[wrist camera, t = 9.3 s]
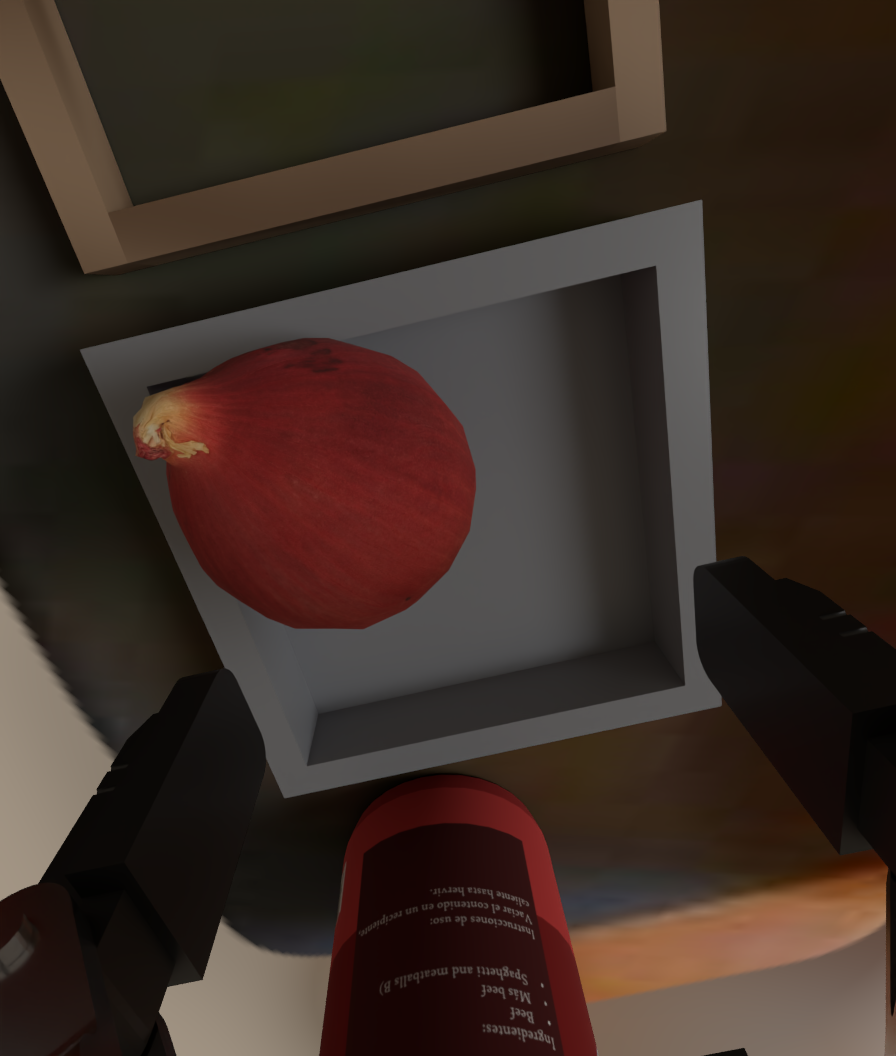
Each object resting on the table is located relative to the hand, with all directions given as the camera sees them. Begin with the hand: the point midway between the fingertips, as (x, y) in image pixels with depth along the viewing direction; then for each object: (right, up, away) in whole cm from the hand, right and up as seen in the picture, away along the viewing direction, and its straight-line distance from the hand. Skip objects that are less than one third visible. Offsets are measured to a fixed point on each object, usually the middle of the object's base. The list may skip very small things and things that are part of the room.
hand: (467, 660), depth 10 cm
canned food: (0, -10, +13) cm, 16 cm away
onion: (-1, +2, +5) cm, 6 cm away
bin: (0, +3, +7) cm, 8 cm away
